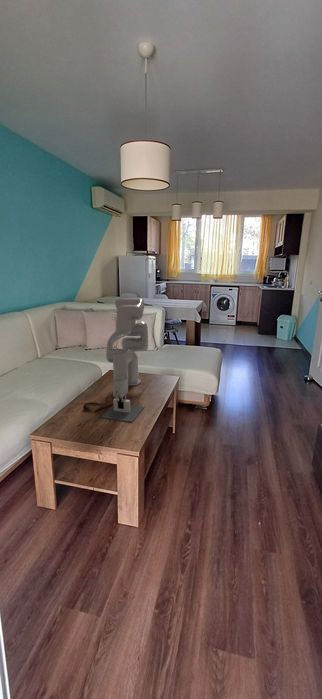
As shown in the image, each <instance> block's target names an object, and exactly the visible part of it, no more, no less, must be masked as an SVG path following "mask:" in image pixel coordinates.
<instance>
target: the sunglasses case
mask: <svg viewBox="0 0 322 699" xmlns="http://www.w3.org/2000/svg"><path fill="white" fill-rule="evenodd" d="M113 400H114V399H112V398H111V396H110V395H107V396H104V397H101V398H98V399H96V400H93V401H90V402H86V403H85V404H83V410H84V411H86V412H87V413H89V414H95V413H97V412H100V411H101V410H104V409H107V408H108V407H109V408H110V407H112V406H113V405H114V404H113Z"/></svg>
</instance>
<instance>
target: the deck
mask: <svg viewBox="0 0 322 699" xmlns="http://www.w3.org/2000/svg"><path fill="white" fill-rule="evenodd" d="M112 400H113V404H114V411H120V412H127V413H129V412H130V411H131V409H130V405H131V399H123V402H124V409H119V408H118V402H117V401H116V397H114V399H112Z"/></svg>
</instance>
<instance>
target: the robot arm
mask: <svg viewBox="0 0 322 699" xmlns="http://www.w3.org/2000/svg"><path fill="white" fill-rule="evenodd" d="M114 305H115V307H116V309H117V310H116V317H115V318H116V320H115V321H116V322H115V323H116V324H115V331H114V332H113V333H112V334H111V335H110V337H109V339H108V340H107V344H106V353H105V355H106V356H105V357H106V360H107V362H108V363H112V369H113V372H112V373H113V388H112V390H113V392H112V395H113V398H116V401H117V402H118V408H119V409H124V402H123V399H125V400H127V394H128V393H129V386H130V387H131V386H137V385H140V383H141V382H142V380H141V378H139V376H140V373H139V357H138V355H137V353H136V352H147V351H148V349H149V330H148V323H146V322H145V321H142V320H141V319H142V318H143V316H144V310H145V301H144V299H143V298H140V297H139V298H138V297H135V298H134V297H132V298H131V297H122V298H117V299H115V302H114ZM140 320H141V321H140ZM120 339H122V340H121V342H120V343H121V348H113V345H114V344H115V342H117V341H118V340H120Z"/></svg>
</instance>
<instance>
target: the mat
mask: <svg viewBox="0 0 322 699" xmlns="http://www.w3.org/2000/svg"><path fill="white" fill-rule="evenodd" d="M130 409H131V411H130V412H129V413H127V412H120V411H114V405H112V406H109V408H108V409H107V410H106V411H105V412H103V414H102V415H101V416H100V419H105V420H112V421H119V422H126V423H131V424H133V422H134V421H135V420H136V418H138V417H139V415H140V414H141V413H142V412H143V410H144V409H145V406H141V405H133V404H130Z"/></svg>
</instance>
